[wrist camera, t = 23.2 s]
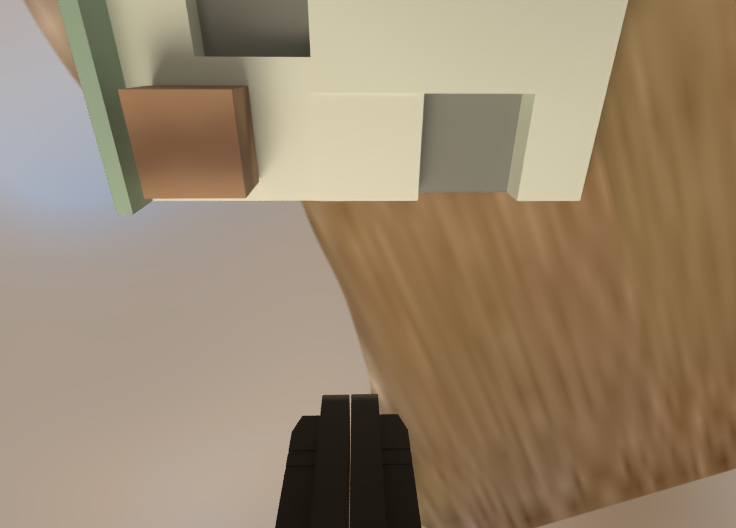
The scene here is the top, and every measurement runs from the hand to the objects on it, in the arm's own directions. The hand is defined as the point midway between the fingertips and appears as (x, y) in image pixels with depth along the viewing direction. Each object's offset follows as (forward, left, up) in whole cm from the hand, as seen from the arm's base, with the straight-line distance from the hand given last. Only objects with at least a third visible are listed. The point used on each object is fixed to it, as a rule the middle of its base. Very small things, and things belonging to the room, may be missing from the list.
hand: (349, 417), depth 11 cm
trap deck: (-8, +1, -22) cm, 23 cm away
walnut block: (-4, -9, -20) cm, 22 cm away
